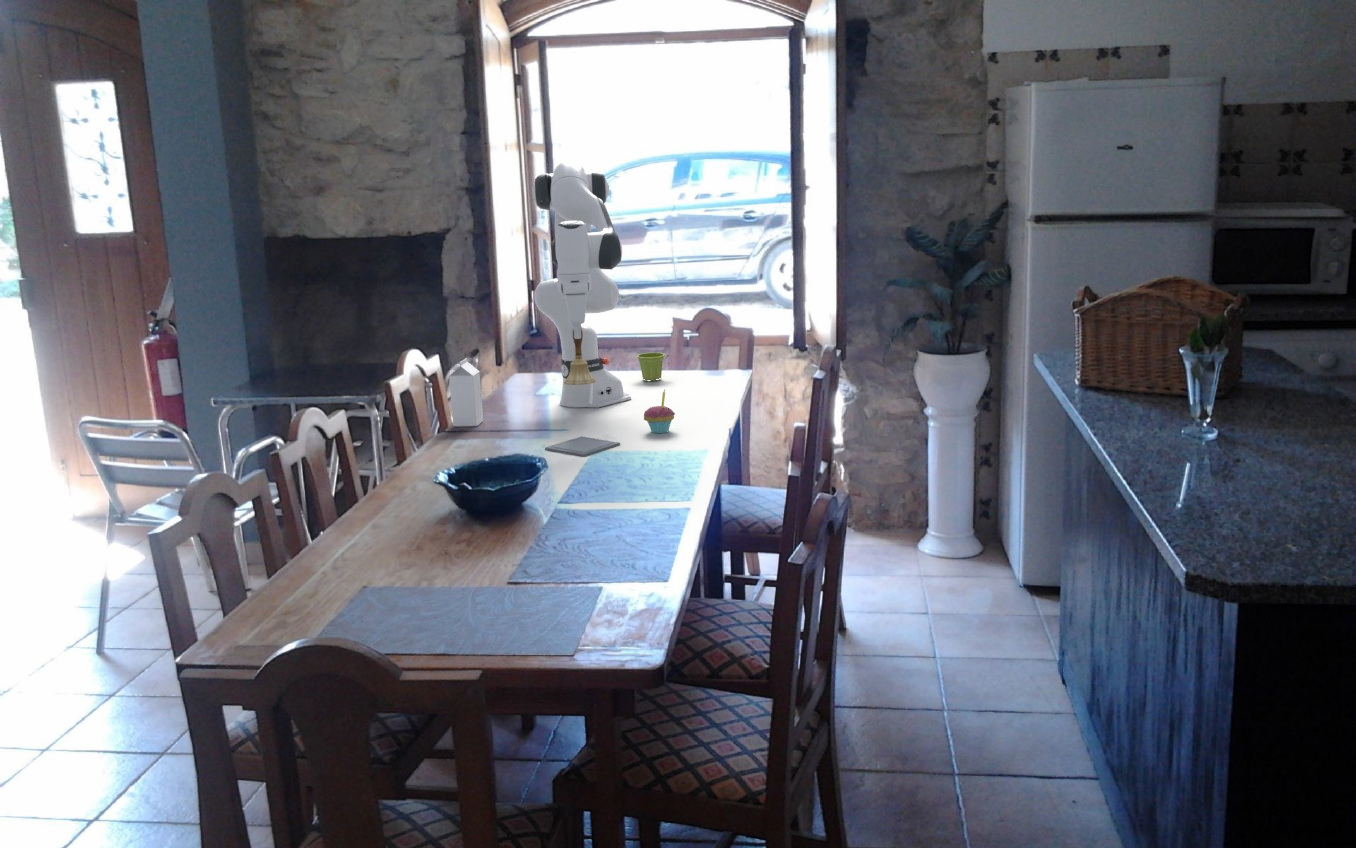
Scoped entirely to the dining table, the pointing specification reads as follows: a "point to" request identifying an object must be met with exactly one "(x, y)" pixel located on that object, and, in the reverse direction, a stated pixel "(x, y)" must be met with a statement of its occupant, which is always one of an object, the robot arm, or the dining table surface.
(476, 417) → the milk carton
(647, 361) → the plant pot
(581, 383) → the hand bell
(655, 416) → the cupcake
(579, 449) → the plate
